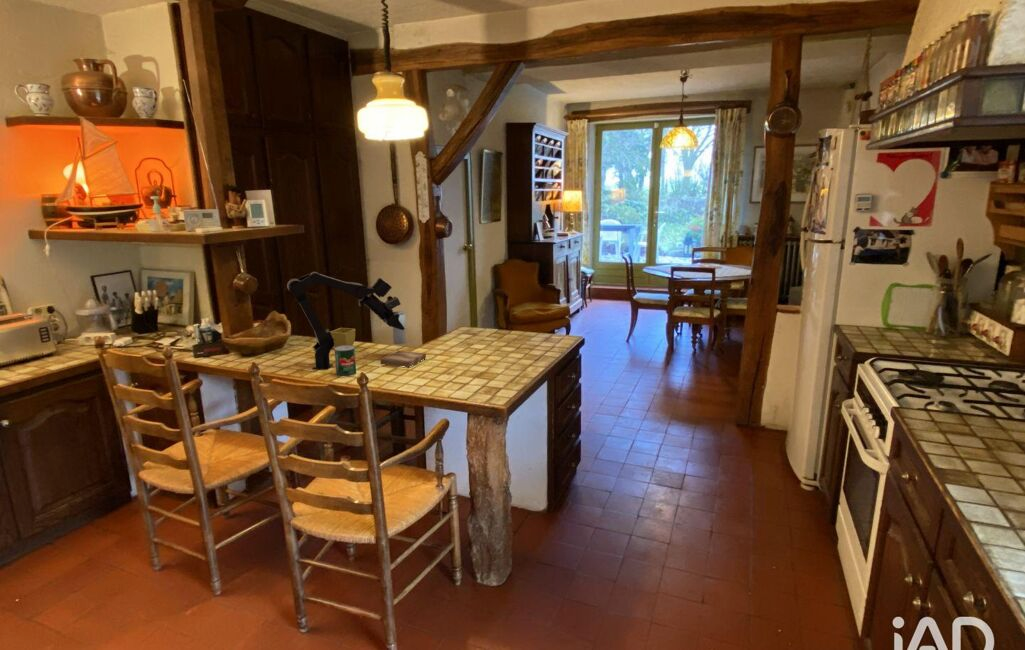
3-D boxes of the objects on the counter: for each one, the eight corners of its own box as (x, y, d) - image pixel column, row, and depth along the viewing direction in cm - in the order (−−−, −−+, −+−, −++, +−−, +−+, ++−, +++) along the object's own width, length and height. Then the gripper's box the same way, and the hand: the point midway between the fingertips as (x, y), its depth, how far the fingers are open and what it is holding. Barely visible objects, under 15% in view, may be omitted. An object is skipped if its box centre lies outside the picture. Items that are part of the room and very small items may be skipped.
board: (409, 368, 238) (409, 362, 238) (380, 364, 243) (380, 358, 243) (426, 359, 251) (425, 353, 251) (398, 356, 256) (398, 350, 256)
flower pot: (346, 351, 264) (345, 333, 262) (330, 350, 266) (329, 331, 264) (357, 347, 272) (356, 328, 270) (341, 345, 275) (340, 327, 273)
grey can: (402, 344, 249) (401, 313, 246) (391, 343, 251) (389, 313, 248) (408, 341, 255) (407, 311, 252) (396, 340, 256) (395, 310, 253)
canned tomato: (346, 378, 226) (344, 351, 224) (331, 375, 230) (329, 348, 227) (360, 372, 233) (358, 346, 230) (346, 369, 236) (344, 344, 234)
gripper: (393, 294, 238) (420, 318, 245) (383, 288, 254) (408, 310, 261) (376, 314, 236) (403, 337, 243) (366, 307, 252) (392, 328, 260)
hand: (402, 327), depth 252 cm, fingers closed on grey can, 6 cm apart
